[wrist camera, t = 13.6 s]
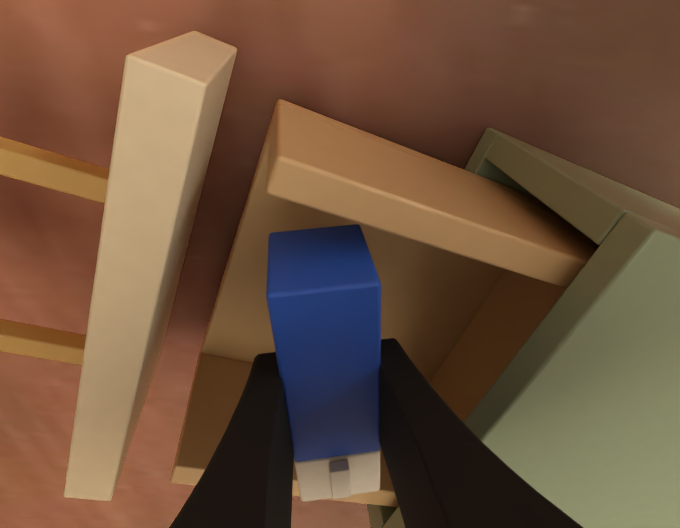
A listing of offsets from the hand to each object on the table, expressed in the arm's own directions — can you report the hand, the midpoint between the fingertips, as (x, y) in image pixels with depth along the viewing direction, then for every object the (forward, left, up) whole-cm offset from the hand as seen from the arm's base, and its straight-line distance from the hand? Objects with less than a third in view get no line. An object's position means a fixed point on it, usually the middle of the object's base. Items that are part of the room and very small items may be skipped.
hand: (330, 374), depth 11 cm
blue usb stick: (0, 0, -1) cm, 1 cm away
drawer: (0, -2, -5) cm, 6 cm away
